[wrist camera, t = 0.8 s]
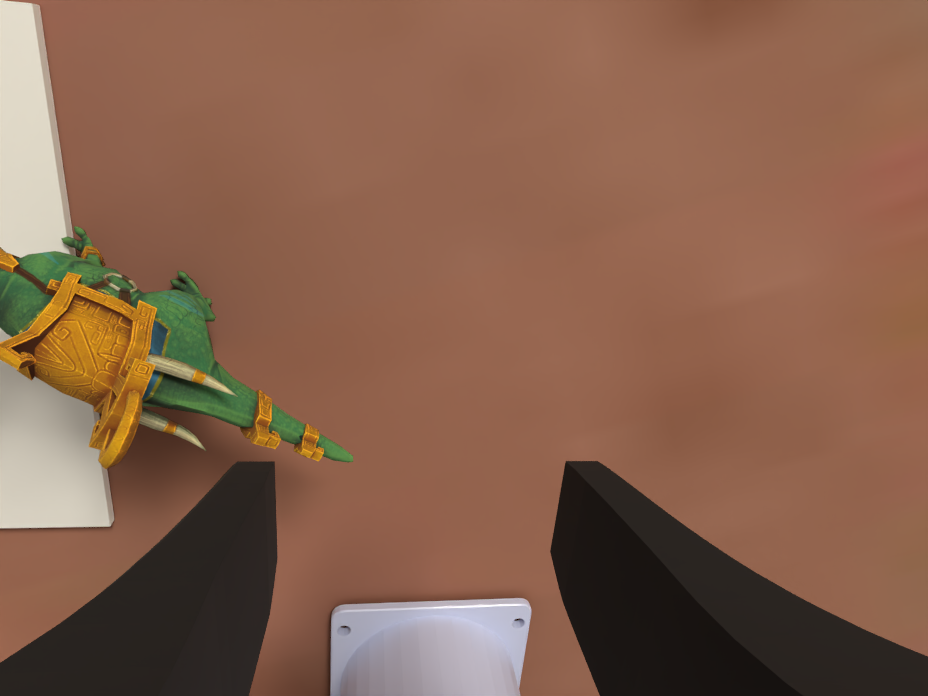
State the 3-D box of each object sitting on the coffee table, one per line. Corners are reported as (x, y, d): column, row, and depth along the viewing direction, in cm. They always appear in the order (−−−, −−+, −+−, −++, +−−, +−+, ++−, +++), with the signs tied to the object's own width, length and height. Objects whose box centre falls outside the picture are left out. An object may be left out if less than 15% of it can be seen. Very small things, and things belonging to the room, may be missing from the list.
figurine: (-33, 154, 17) (-279, 215, 10) (363, 349, 22) (399, 488, 14) (-75, 253, 17) (-336, 381, 10) (318, 421, 22) (332, 589, 15)
